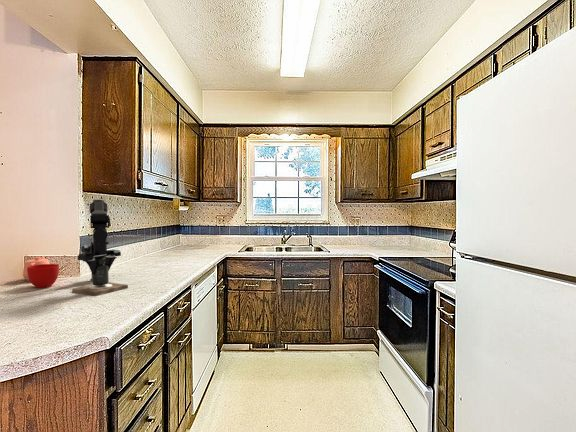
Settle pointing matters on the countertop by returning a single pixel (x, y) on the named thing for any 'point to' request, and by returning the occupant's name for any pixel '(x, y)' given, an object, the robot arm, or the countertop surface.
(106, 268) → the supplement bottle
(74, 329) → the countertop surface
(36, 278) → the ceramic cup
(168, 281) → the countertop surface
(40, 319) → the countertop surface
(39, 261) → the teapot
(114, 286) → the walnut board
